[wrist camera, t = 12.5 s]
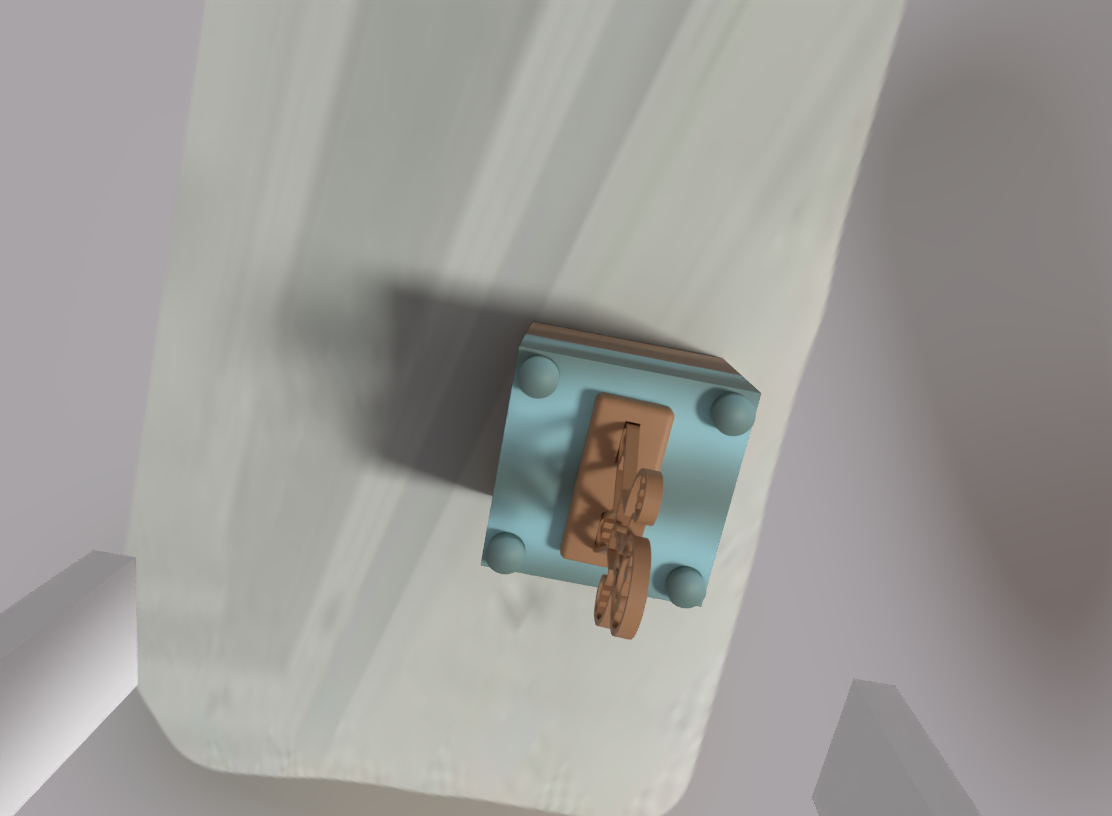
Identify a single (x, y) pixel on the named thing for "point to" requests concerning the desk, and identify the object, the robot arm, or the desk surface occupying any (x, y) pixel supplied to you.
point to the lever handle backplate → (618, 504)
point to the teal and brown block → (559, 437)
